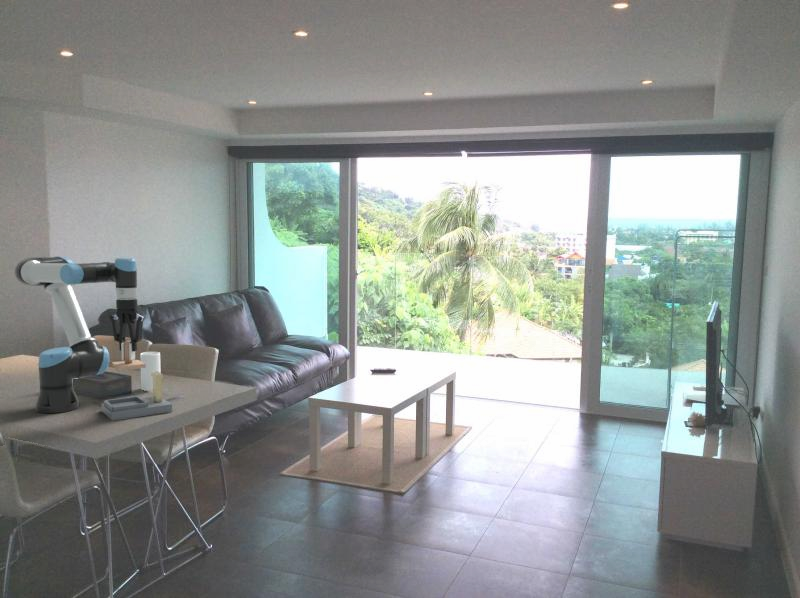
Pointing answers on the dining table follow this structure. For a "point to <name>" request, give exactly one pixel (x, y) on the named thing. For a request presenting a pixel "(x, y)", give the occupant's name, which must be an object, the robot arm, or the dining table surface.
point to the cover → (128, 361)
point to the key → (156, 386)
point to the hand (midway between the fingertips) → (128, 359)
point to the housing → (134, 407)
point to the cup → (149, 369)
